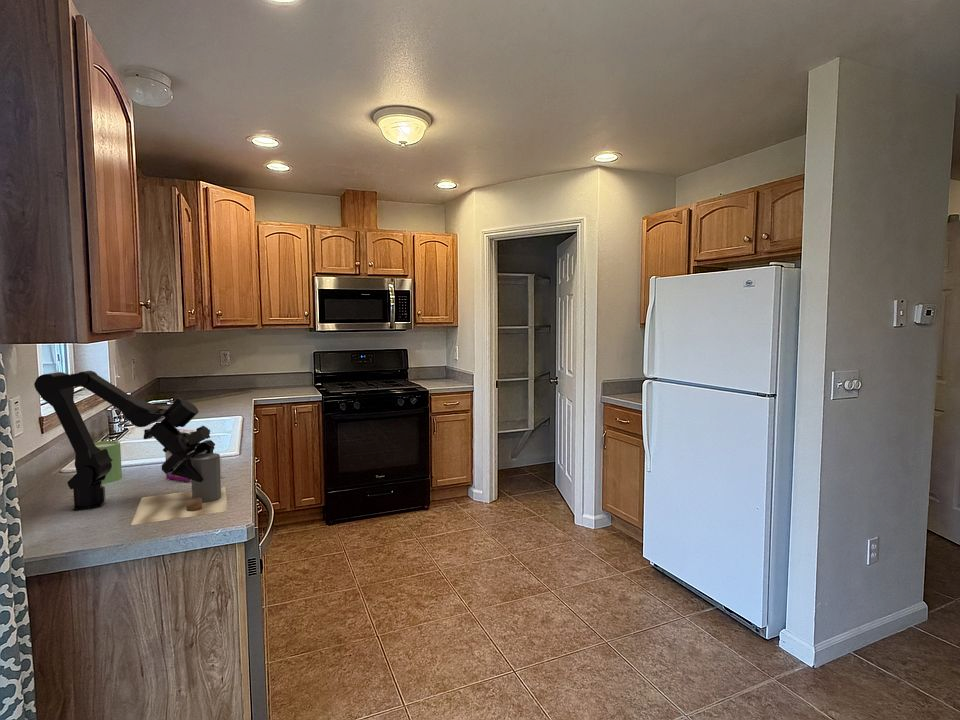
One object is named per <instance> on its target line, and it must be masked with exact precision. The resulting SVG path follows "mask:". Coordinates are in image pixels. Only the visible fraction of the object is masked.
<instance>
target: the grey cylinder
mask: <svg viewBox="0 0 960 720" xmlns="http://www.w3.org/2000/svg"><path fill="white" fill-rule="evenodd" d="M220 457H221V456H220V453H217V452H215V453H214V452H213V453H205V454H198V455H195V456H192V457H191V465H192V466H193V467H194V468H195V469H196V471H197V472H198V473H199V474H200V475H201V477H202V478H203V481H202V482H197V481H194V480H192V482H191V491H192V498H202V503H206V502H212V501H216V500H218V499H220V498H221V487H222V485H221V484H222V482H221V480H222V479H221V478H220Z"/></svg>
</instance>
